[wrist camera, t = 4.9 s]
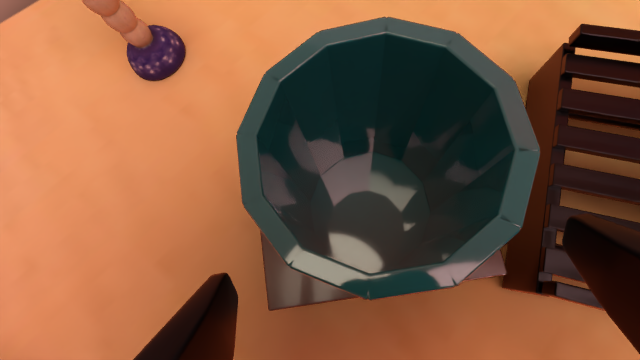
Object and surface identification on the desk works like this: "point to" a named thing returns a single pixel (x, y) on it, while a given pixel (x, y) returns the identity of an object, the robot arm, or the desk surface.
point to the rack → (556, 136)
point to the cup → (387, 158)
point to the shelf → (303, 290)
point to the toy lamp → (142, 40)
